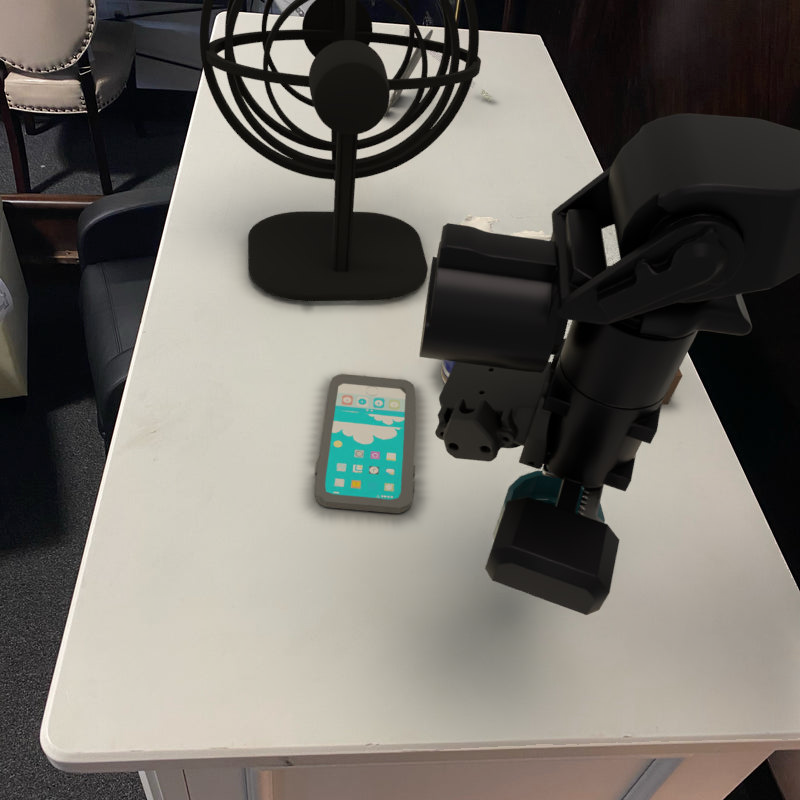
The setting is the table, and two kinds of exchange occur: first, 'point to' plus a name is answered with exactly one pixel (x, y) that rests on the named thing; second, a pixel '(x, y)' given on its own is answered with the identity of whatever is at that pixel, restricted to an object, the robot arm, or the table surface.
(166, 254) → the table surface
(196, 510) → the table surface
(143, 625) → the table surface
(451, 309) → the robot arm
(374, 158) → the desk fan
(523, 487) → the bowl
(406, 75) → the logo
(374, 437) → the smartphone
